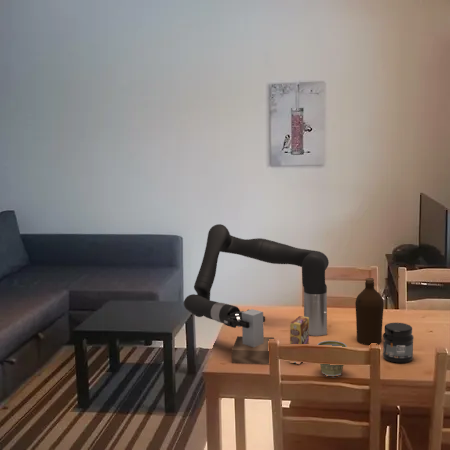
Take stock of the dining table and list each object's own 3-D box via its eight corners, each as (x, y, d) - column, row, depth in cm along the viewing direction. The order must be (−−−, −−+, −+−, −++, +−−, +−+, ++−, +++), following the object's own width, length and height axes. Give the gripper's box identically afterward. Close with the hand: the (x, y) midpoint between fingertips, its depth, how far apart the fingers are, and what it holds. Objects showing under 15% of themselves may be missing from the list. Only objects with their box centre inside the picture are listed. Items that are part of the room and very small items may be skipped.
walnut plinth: (274, 350, 232) (274, 337, 231) (270, 364, 218) (270, 351, 217) (237, 348, 234) (237, 336, 233) (232, 362, 220) (231, 349, 220)
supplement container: (396, 350, 227) (397, 320, 225) (419, 359, 218) (420, 327, 216) (376, 357, 222) (376, 325, 220) (399, 366, 213) (399, 333, 211)
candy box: (300, 365, 216) (300, 324, 214) (289, 363, 218) (288, 322, 216) (309, 356, 224) (309, 317, 221) (298, 355, 226) (298, 315, 223)
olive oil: (377, 347, 231) (378, 283, 227) (351, 342, 237) (351, 280, 232) (386, 338, 240) (387, 277, 235) (360, 334, 245) (361, 274, 241)
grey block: (252, 339, 229) (251, 309, 227) (263, 343, 225) (263, 311, 223) (242, 343, 225) (241, 312, 223) (253, 347, 221) (253, 315, 219)
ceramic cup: (314, 377, 206) (314, 349, 204) (320, 366, 215) (320, 339, 213) (353, 382, 201) (353, 353, 200) (357, 370, 211) (357, 342, 209)
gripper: (211, 308, 228) (243, 317, 217) (237, 300, 238) (269, 308, 227) (212, 327, 229) (243, 337, 218) (238, 318, 239) (269, 327, 228)
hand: (256, 322), depth 222 cm, fingers open, 8 cm apart
